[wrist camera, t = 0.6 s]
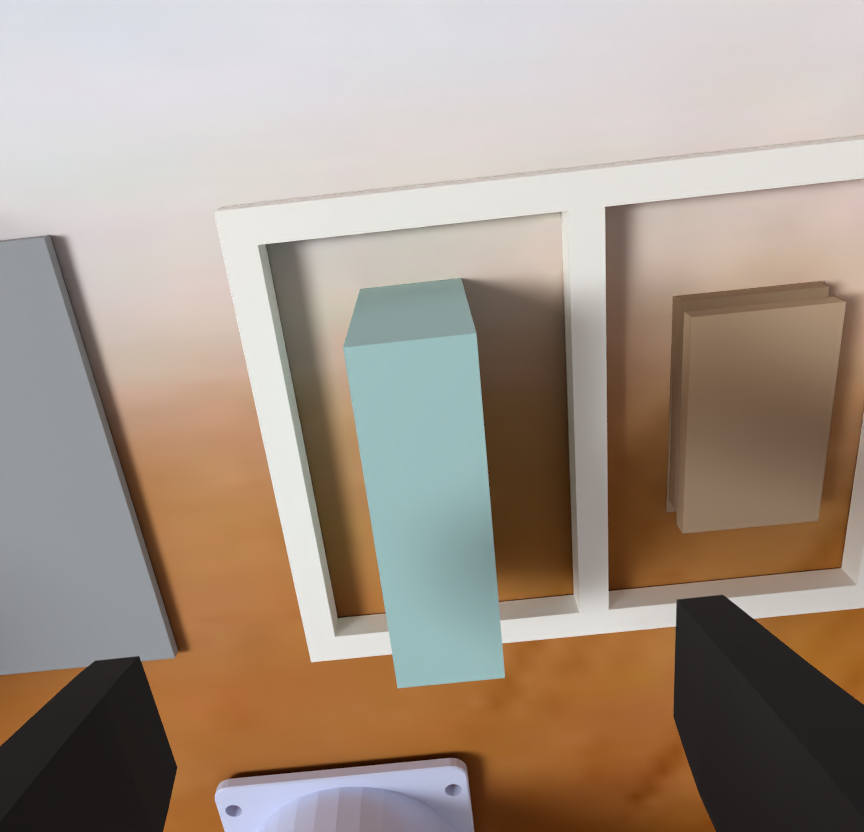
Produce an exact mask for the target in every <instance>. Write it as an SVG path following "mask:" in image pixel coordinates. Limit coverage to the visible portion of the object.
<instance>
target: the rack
mask: <svg viewBox="0 0 864 832" xmlns="http://www.w3.org/2000/svg"><path fill="white" fill-rule="evenodd" d="M862 178H864V135H863V136H854V137H845V138H836V139H827V140H818V141H809V142H800V143H791V144H782V145H773V146H764V147H755V148H746V149H737V150H728V151H719V152H710V153H701V154H692V155H683V156H674V157H665V158H656V159H647V160H638V161H629V162H620V163H611V164H602V165H593V166H584V167H575V168H566V169H557V170H548V171H539V172H530V173H521V174H512V175H503V176H494V177H485V178H476V179H467V180H458V181H449V182H440V183H431V184H422V185H413V186H404V187H395V188H386V189H377V190H368V191H359V192H350V193H341V194H333V195H324V196H315V197H306V198H297V199H288V200H279V201H270V202H261V203H252V204H243V205H234V206H225V207H221V208H219V209H217V210H215V211H213V212H214V217H215V222H216V226H217V231H218V235H219V240H220V245H221V249H222V254H223V258H224V263H225V268H226V272H227V277H228V281H229V286H230V291H231V295H232V300H233V304H234V309H235V314H236V318H237V323H238V327H239V332H240V337H241V341H242V346H243V350H244V355H245V360H246V364H247V369H248V373H249V378H250V383H251V387H252V392H253V396H254V401H255V406H256V410H257V415H258V419H259V424H260V429H261V433H262V438H263V442H264V447H265V452H266V456H267V461H268V465H269V470H270V475H271V479H272V484H273V488H274V493H275V498H276V502H277V507H278V511H279V516H280V521H281V525H282V530H283V534H284V539H285V544H286V548H287V553H288V557H289V562H290V567H291V571H292V576H293V580H294V585H295V590H296V594H297V599H298V603H299V608H300V613H301V617H302V622H303V626H304V631H305V636H306V640H307V645H308V649H309V654H310V659H311V662H318V661H328V660H338V659H348V658H358V657H368V656H379V655H389V654H392V649H391V643H390V636H389V630H388V624H387V618H386V613H384V614H374V615H364V616H354V617H344V618H338V617H337V612H336V606H335V601H334V596H333V591H332V586H331V580H330V575H329V570H328V565H327V560H326V555H325V549H324V544H323V539H322V534H321V529H320V523H319V518H318V513H317V508H316V503H315V498H314V492H313V487H312V482H311V477H310V472H309V466H308V461H307V456H306V451H305V446H304V440H303V435H302V430H301V425H300V420H299V415H298V409H297V404H296V399H295V394H294V389H293V383H292V378H291V373H290V368H289V363H288V358H287V352H286V347H285V342H284V337H283V332H282V326H281V321H280V316H279V311H278V306H277V301H276V295H275V290H274V285H273V280H272V275H271V269H270V264H269V259H268V254H267V249H266V244H271V243H280V242H289V241H298V240H308V239H317V238H326V237H335V236H344V235H353V234H362V233H371V232H380V231H389V230H398V229H407V228H417V227H426V226H435V225H444V224H453V223H462V222H471V221H480V220H489V219H498V218H507V217H516V216H526V215H535V214H544V213H553V212H561V214H562V245H563V276H564V307H565V338H566V368H567V399H568V430H569V461H570V492H571V523H572V554H573V585H574V595H565V596H555V597H545V598H535V599H525V600H515V601H505V602H499V612H500V624H501V636H502V643H511V642H521V641H531V640H542V639H552V638H562V637H572V636H582V635H592V634H603V633H613V632H623V631H633V630H643V629H654V628H664V627H674V626H676V603H677V599H686V598H696V597H705V596H715V595H724V596H725V597H727V598H728V599H729V600H731V601H732V602H733V603H734V604H736V605H737V606H738V607H739V608H741V609H742V610H743V611H744V612H746V613H747V614H748V615H749V616H751V617H752V618H753V619H755V618H765V617H776V616H786V615H796V614H806V613H816V612H827V611H837V610H847V609H857V608H864V414H863V421H862V428H861V435H860V442H859V449H858V456H857V463H856V470H855V477H854V483H853V490H852V497H851V504H850V511H849V518H848V525H847V532H846V539H845V546H844V553H843V560H842V567H841V568H837V569H827V570H816V571H806V572H796V573H786V574H776V575H766V576H756V577H746V578H736V579H726V580H716V581H706V582H696V583H686V584H676V585H666V586H655V587H645V588H635V589H625V590H615V591H609V586H608V476H607V367H606V257H605V207H607V206H616V205H626V204H635V203H644V202H653V201H662V200H671V199H680V198H689V197H698V196H707V195H716V194H725V193H735V192H744V191H753V190H762V189H771V188H780V187H789V186H798V185H807V184H816V183H825V182H834V181H844V180H853V179H862Z"/></svg>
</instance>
